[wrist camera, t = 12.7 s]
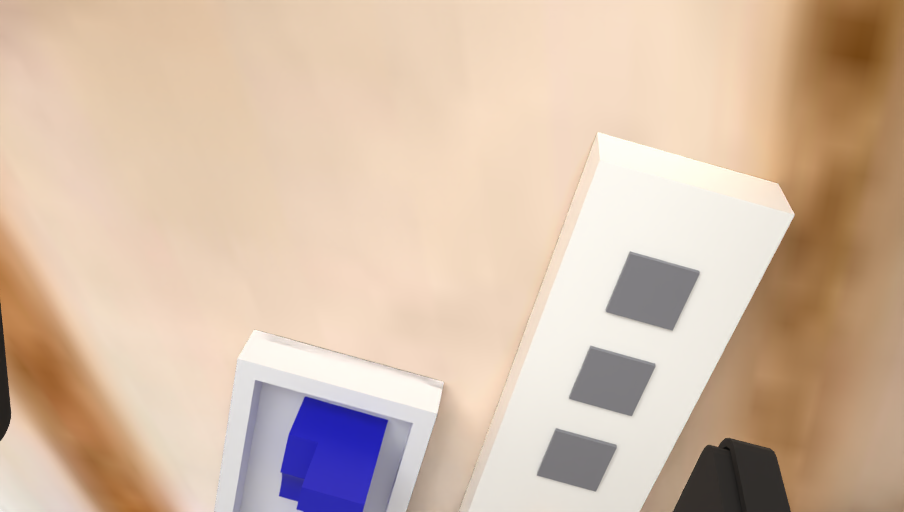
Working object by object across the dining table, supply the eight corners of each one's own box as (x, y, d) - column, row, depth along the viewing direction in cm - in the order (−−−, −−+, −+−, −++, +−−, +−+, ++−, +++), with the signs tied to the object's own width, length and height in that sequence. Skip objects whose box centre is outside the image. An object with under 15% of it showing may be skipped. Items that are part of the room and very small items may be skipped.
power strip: (778, 183, 36) (798, 221, 33) (592, 553, 48) (594, 607, 45) (597, 131, 36) (600, 165, 32) (456, 516, 48) (449, 568, 44)
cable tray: (443, 381, 43) (437, 413, 41) (373, 602, 52) (365, 638, 50) (254, 329, 43) (237, 358, 41) (216, 560, 52) (201, 594, 50)
